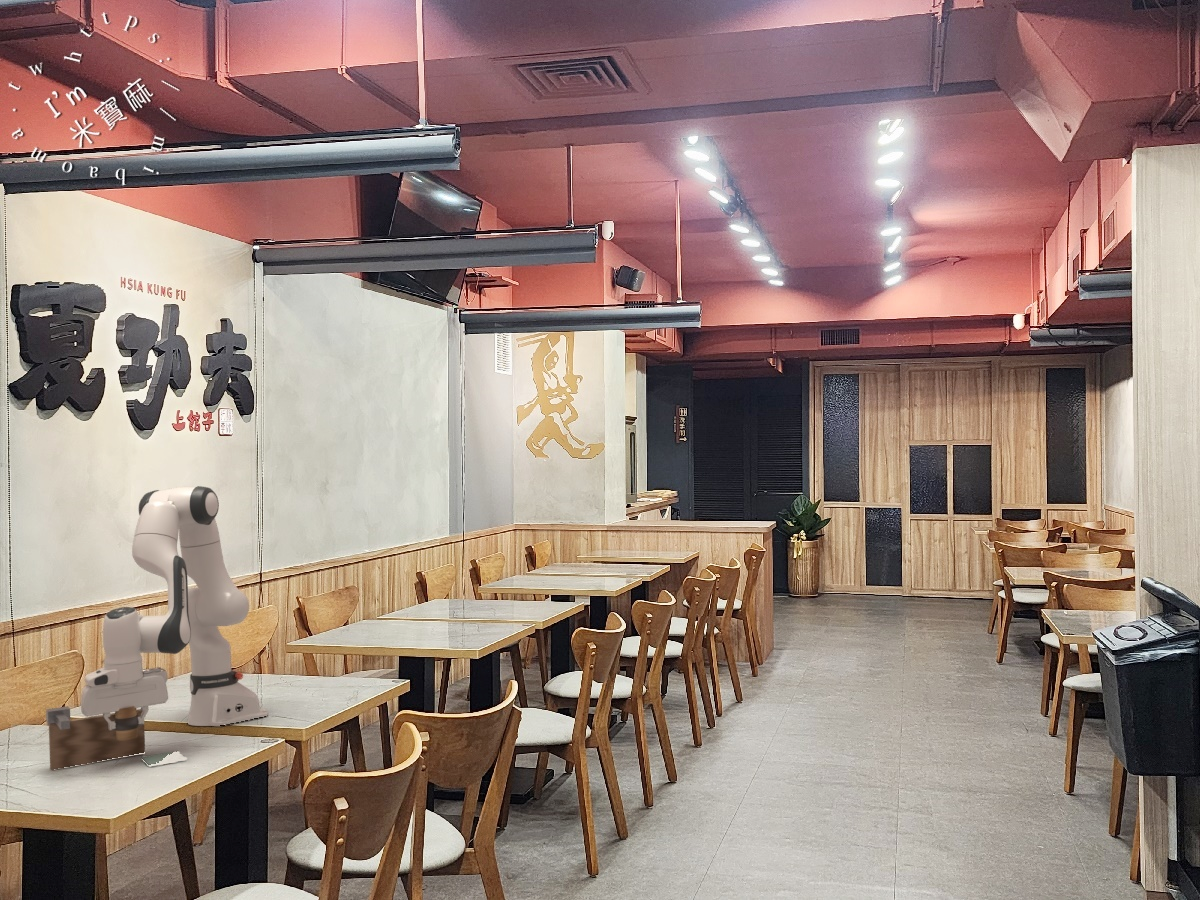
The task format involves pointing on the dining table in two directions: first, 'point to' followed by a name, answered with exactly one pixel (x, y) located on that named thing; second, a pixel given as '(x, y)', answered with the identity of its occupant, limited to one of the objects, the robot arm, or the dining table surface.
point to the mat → (155, 758)
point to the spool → (126, 723)
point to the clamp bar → (59, 717)
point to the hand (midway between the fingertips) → (126, 726)
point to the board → (90, 742)
